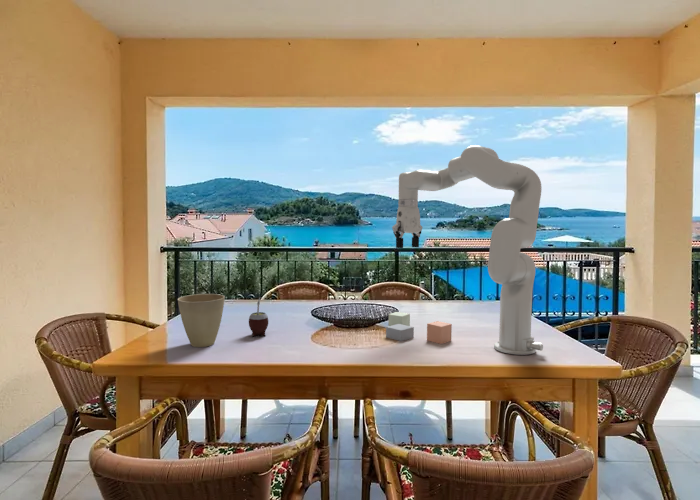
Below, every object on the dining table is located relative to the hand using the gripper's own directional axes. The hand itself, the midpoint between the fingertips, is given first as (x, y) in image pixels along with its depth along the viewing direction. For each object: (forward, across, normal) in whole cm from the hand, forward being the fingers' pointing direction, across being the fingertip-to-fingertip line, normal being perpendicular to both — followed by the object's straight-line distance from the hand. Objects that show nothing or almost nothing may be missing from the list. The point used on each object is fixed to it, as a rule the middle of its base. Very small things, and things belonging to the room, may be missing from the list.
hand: (407, 247), depth 170 cm
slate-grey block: (+32, -16, -10) cm, 37 cm away
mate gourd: (+31, -52, +26) cm, 66 cm away
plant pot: (+31, -72, +29) cm, 84 cm away
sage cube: (+31, -7, -2) cm, 32 cm away
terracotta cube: (+31, -9, -22) cm, 39 cm away
